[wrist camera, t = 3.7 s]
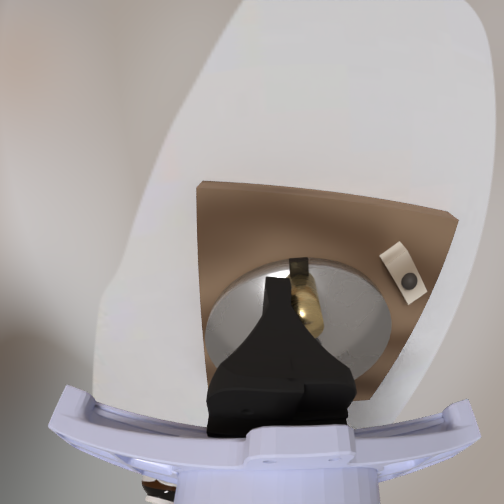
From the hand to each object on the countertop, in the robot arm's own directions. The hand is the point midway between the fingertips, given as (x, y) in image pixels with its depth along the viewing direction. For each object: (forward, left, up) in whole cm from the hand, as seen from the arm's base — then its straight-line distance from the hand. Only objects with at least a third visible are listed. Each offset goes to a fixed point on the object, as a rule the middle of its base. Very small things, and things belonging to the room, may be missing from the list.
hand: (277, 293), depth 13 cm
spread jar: (-52, +16, -5) cm, 54 cm away
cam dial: (-6, -2, -3) cm, 7 cm away
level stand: (-6, -4, -5) cm, 8 cm away
